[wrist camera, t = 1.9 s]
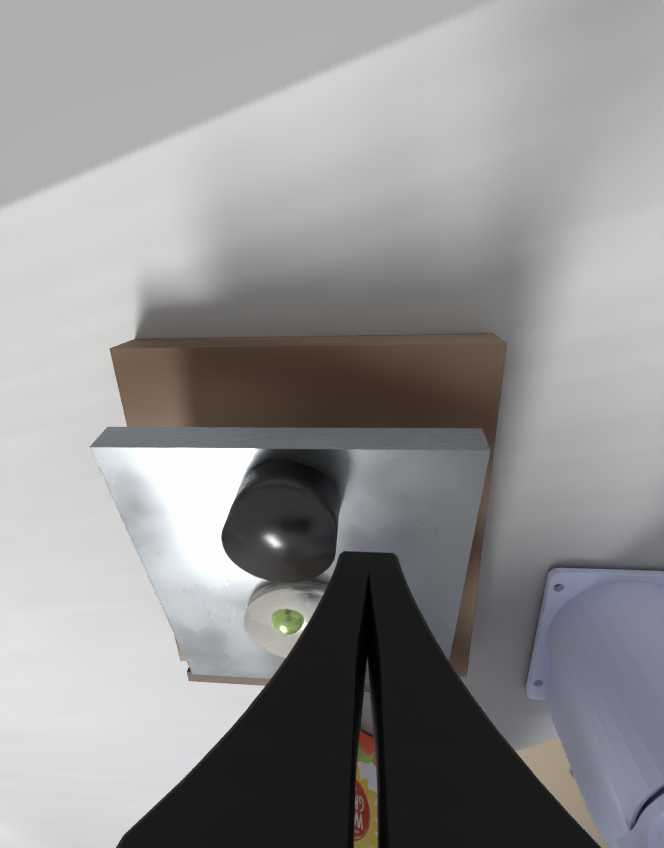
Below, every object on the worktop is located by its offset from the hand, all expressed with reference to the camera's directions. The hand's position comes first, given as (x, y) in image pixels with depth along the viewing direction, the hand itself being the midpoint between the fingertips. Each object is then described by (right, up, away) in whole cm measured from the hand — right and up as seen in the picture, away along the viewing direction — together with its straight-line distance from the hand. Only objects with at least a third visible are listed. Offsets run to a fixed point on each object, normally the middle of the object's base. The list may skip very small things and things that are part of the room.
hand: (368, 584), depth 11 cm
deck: (-2, -2, +8) cm, 9 cm away
